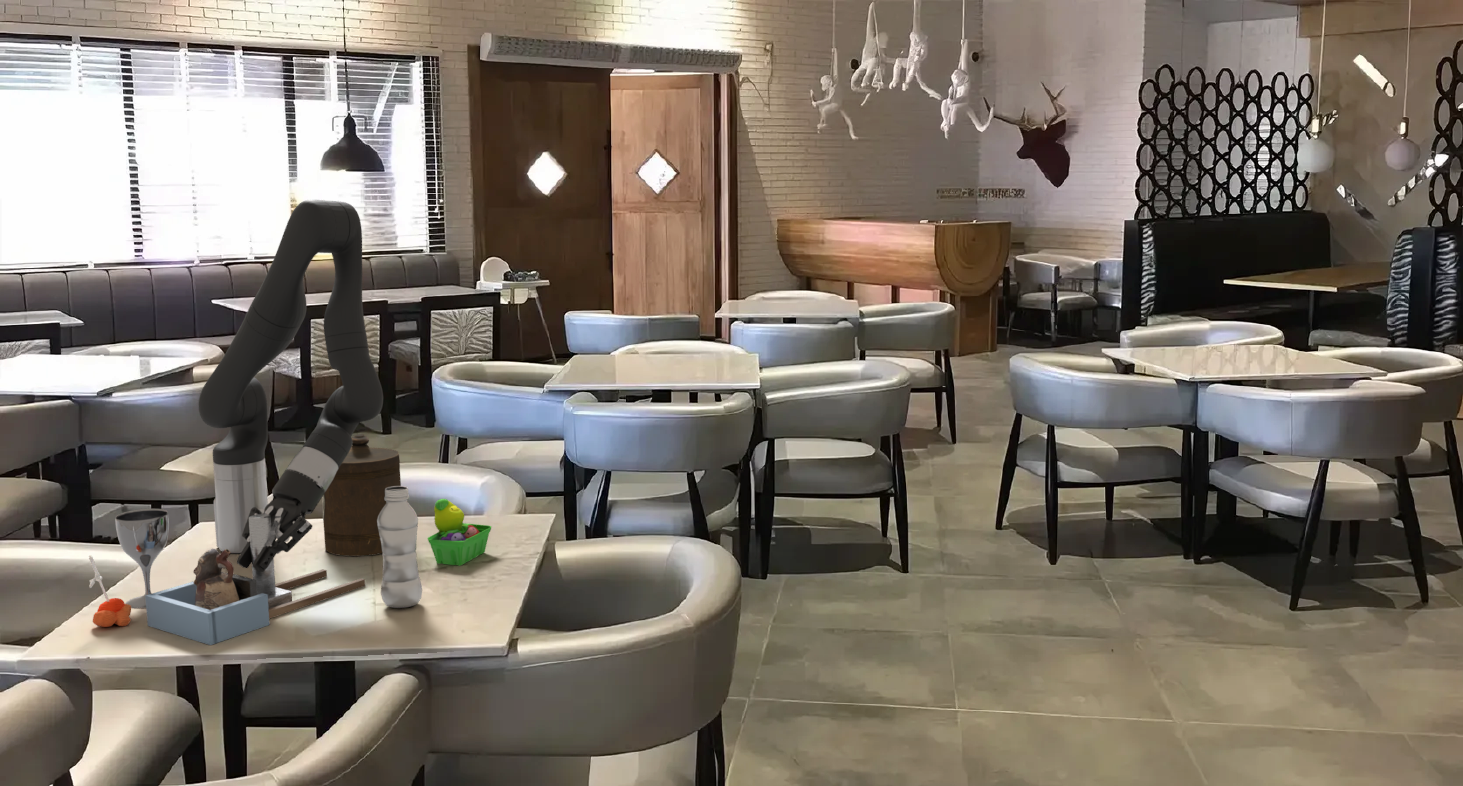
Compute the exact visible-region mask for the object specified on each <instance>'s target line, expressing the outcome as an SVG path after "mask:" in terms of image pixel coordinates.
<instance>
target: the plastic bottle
mask: <svg viewBox="0 0 1463 786" xmlns="http://www.w3.org/2000/svg"><path fill="white" fill-rule="evenodd" d="M384 499H385V501H386V505H385V506H384V507H383V509H382V510H381V512H380V514H379V515H378V519H377V525H378V530H379V535H380V540H381V546H382V552H383V553H381V554H382V580H381V583H380V584H381V586H380V594H381V595H380V596H381V599H382V602H383V603H384V605H386V607H389V608H396V609H401V608H402V609H403V608H404V609H405V608H409V607H413V606H416V605H417V604H419V603H420V600H421V599H422V594H423V587H422V581H421V578H420V574H419V566H418V559H417V537H418V529H419V528H418V525H419V518H418V515H417V512H416V511H415V509H414V508H413V507H412V506H411V505H410V503H409V502H408V500H410V495H409V487H408V486H404V485H401V486H393V487H388V488H386V489H385V497H384Z"/></svg>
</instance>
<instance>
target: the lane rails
mask: <svg viewBox="0 0 1463 786" xmlns="http://www.w3.org/2000/svg"><path fill="white" fill-rule="evenodd" d="M327 577H328V574H327V570H326V569H319V570H316V571H312V572H310V573H307V574H303V575H300V576H297V577H294V578H291V579H287V580H284V581H280V582H278V583H275V587H277V588H281V589H284V590H289V589H293V588H295V587H298V586H302V585H305V584H308V583H312V582H315V581H318V580H320V579H323V578H327ZM365 586H366V579H364V578H358V579H356V580H352V581H349V582H346V583H343V584H339V585H336V586H333V587H331V588H328V589H325V590H322V591H318V592H316V593H315V592H314V593H313V594H310V595H307V596H304V597H300V598H298V599H294V600H292V601H291V602H288V603H285V604H282V605H279V606H276V607H273V608H270V609H269V619H272V618H275V617H279V616H280V615H283V614H286V613H287V614H288V613H290V612H293V611H295V610H298V609H302V608H304V607H307V606H310V605H313V604H316V603H320V602H321V601H325V600H328V599H331V598H334V597H337V596H340V595H342V594H346V593H348V592H351V591H354V590H358V589H361V588H363V587H365Z"/></svg>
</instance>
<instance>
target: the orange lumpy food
mask: <svg viewBox="0 0 1463 786" xmlns="http://www.w3.org/2000/svg"><path fill="white" fill-rule="evenodd" d="M88 557H89V558H88V559H89V562H90V564H91V567H92V569H93V571H94V577H93V578H92V579H89V586H88V587H89V589H92V587H93V586H94V585H95V583H96V582H98V584H99V586H100V589H101V591H102V594H103V595H104V598H105V599H106V600H105V601H104V602H102V603H101V604H99V606H98V608H97V611H96V612H94V614H93V617H92V623H93V624H94V625H95V626H99V627H103V628H108V627H109V628H110V627H113V625H114V624H115V625H117V626H119V627H126V626H128V625H129V624H130V623H131V621H132V620H131V618H130V616H131V613H132V608H131V605H128V604H125V603H126V602H125V601H124V600H123V599H121V598H119V597H113V598H109V596H108V595H107V592H106V589H105V587H104V584H103V581H102V580H103V576H101V574H100V572H99V570H98V568H97V565H96V562H95V560H94V557H93V556H92V555H89V556H88Z"/></svg>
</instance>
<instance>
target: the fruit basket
mask: <svg viewBox="0 0 1463 786" xmlns="http://www.w3.org/2000/svg"><path fill="white" fill-rule="evenodd" d="M433 510H434V524H435V527H436V529H437V530H438V531H437V532H436V533H433V534H432V535H430V536H428V537H427V541H428V543H429V545H430V547H431V551H432V554H433V556H434V558H435V563H436V564H437V565H439V564H443V565H449V566H450V565H451V566H459V567H462V566H463V565H464V564H466V563H468V562H470V561H472V560H473V559H475V558H478V557H479V556H480V555H483V554H485V552H486V549H487V548H486V547H487V544H488V539H489V535H490V532H491V530H492V526H491V525H487V524H477V523H466V522H464V519H465V514H464V513H465V512H463V510H462V509H461V508H459V506H457V505H456V504H454V503H453V502H451V501H450V500H448V499H446V498H440V499H438V500H436V501H435V503H434V509H433Z"/></svg>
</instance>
